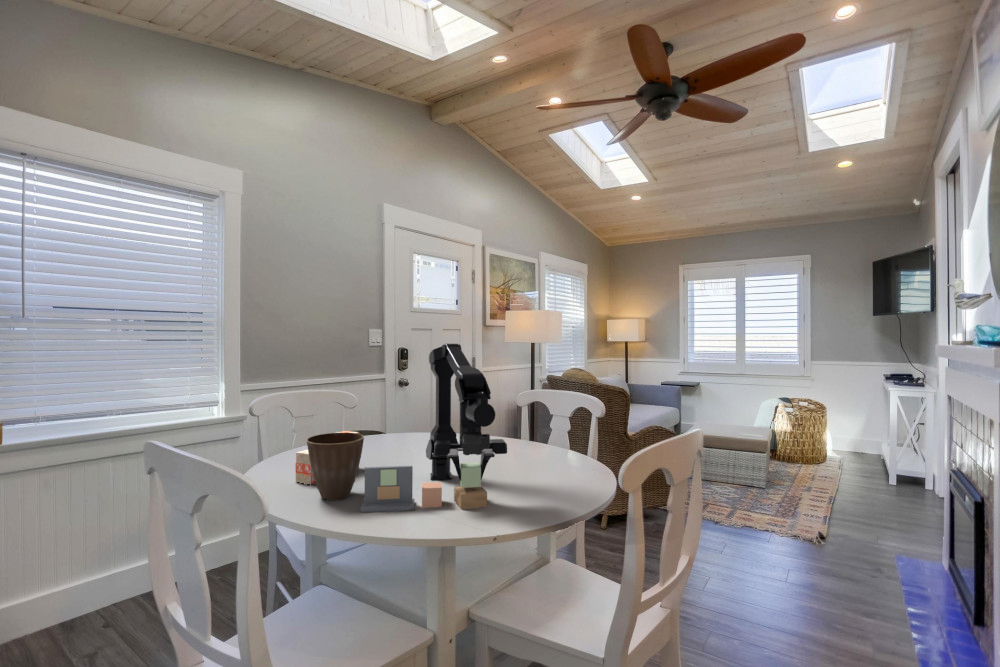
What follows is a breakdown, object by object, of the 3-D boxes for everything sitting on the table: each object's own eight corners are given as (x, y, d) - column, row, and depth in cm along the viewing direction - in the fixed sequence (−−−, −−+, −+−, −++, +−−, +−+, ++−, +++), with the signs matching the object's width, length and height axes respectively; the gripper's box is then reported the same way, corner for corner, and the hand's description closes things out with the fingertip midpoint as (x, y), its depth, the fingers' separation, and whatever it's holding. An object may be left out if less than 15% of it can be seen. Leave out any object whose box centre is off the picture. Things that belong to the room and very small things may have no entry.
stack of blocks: (311, 486, 148) (311, 443, 149) (295, 483, 151) (295, 442, 151) (359, 468, 168) (359, 431, 168) (344, 466, 171) (344, 430, 171)
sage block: (460, 481, 135) (460, 463, 135) (478, 481, 136) (479, 462, 136) (461, 487, 130) (461, 467, 130) (480, 486, 131) (480, 467, 131)
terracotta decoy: (422, 501, 134) (422, 482, 134) (441, 500, 135) (441, 482, 135) (421, 508, 129) (422, 488, 130) (441, 507, 130) (441, 487, 130)
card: (363, 504, 132) (363, 465, 132) (414, 502, 134) (414, 464, 134) (360, 512, 126) (360, 471, 126) (413, 509, 128) (413, 470, 128)
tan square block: (454, 501, 135) (454, 486, 135) (479, 499, 137) (479, 484, 137) (460, 510, 128) (460, 494, 128) (487, 507, 131) (487, 491, 131)
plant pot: (369, 500, 135) (369, 440, 135) (309, 508, 129) (309, 445, 129) (358, 485, 149) (358, 430, 149) (303, 492, 142) (304, 435, 142)
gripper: (434, 426, 124) (434, 490, 124) (510, 425, 126) (510, 487, 126) (434, 419, 135) (434, 478, 135) (504, 417, 137) (503, 475, 137)
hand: (470, 480), depth 133 cm, fingers closed on sage block, 5 cm apart
